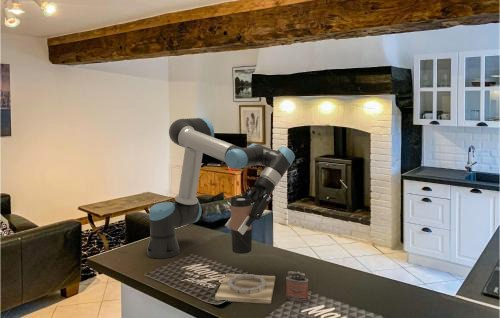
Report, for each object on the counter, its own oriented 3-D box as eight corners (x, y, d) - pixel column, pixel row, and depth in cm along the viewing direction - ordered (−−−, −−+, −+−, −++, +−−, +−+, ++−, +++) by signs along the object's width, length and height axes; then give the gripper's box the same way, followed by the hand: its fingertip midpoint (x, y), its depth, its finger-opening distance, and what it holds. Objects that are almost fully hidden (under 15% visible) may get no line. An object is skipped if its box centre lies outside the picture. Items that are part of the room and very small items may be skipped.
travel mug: (249, 254, 146) (248, 200, 144) (229, 253, 148) (228, 200, 145) (253, 247, 154) (253, 196, 151) (234, 246, 155) (233, 195, 153)
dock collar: (232, 276, 160) (231, 273, 159) (267, 278, 158) (267, 275, 157) (224, 292, 146) (224, 289, 146) (263, 295, 144) (263, 291, 144)
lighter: (309, 298, 145) (309, 271, 143) (307, 302, 141) (307, 275, 140) (287, 295, 147) (287, 269, 146) (284, 299, 144) (285, 272, 143)
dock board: (226, 277, 163) (226, 273, 163) (275, 279, 160) (275, 276, 160) (215, 300, 143) (214, 296, 143) (270, 303, 141) (270, 299, 140)
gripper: (290, 191, 149) (256, 242, 141) (257, 183, 165) (225, 229, 158) (279, 178, 145) (244, 230, 138) (246, 172, 161) (213, 218, 154)
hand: (233, 230), depth 148 cm, fingers closed on travel mug, 7 cm apart
